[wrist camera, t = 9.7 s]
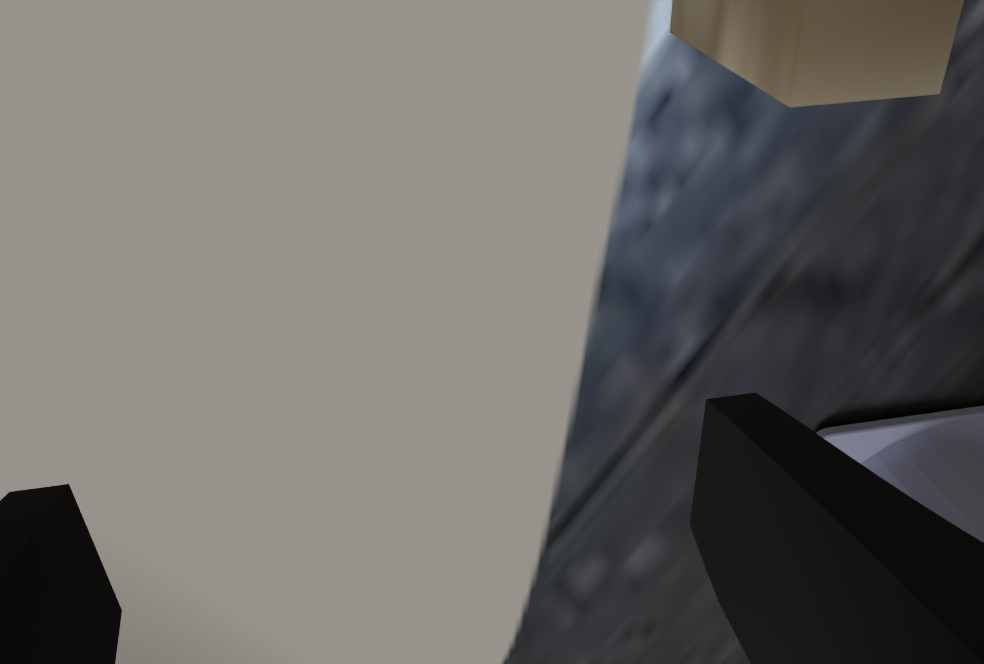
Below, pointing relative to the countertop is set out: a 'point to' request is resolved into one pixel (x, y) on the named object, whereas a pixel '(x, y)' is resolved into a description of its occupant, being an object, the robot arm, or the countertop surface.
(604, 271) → the countertop surface
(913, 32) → the corded block
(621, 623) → the countertop surface
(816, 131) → the countertop surface
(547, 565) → the countertop surface
